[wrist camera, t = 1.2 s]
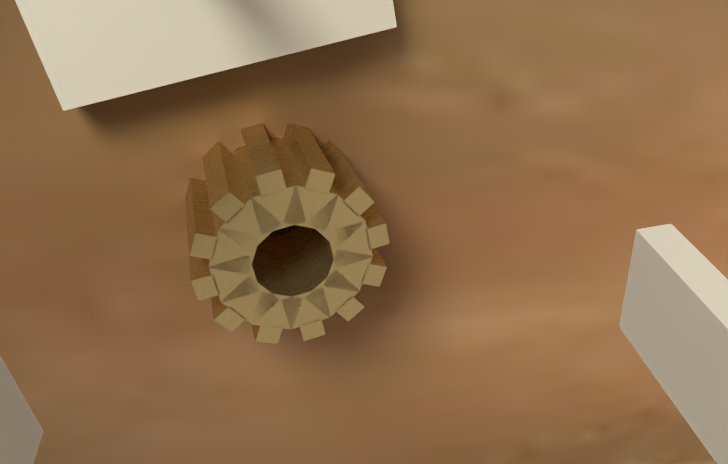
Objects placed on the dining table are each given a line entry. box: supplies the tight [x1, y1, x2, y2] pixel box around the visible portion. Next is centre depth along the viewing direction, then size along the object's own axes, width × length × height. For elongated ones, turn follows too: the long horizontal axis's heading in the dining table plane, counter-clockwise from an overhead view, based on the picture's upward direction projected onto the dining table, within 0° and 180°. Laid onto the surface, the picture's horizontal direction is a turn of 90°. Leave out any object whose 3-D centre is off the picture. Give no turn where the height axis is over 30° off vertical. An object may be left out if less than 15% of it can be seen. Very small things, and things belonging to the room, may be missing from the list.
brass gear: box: [186, 124, 390, 344], centre depth 32 cm, size 9×9×6 cm
